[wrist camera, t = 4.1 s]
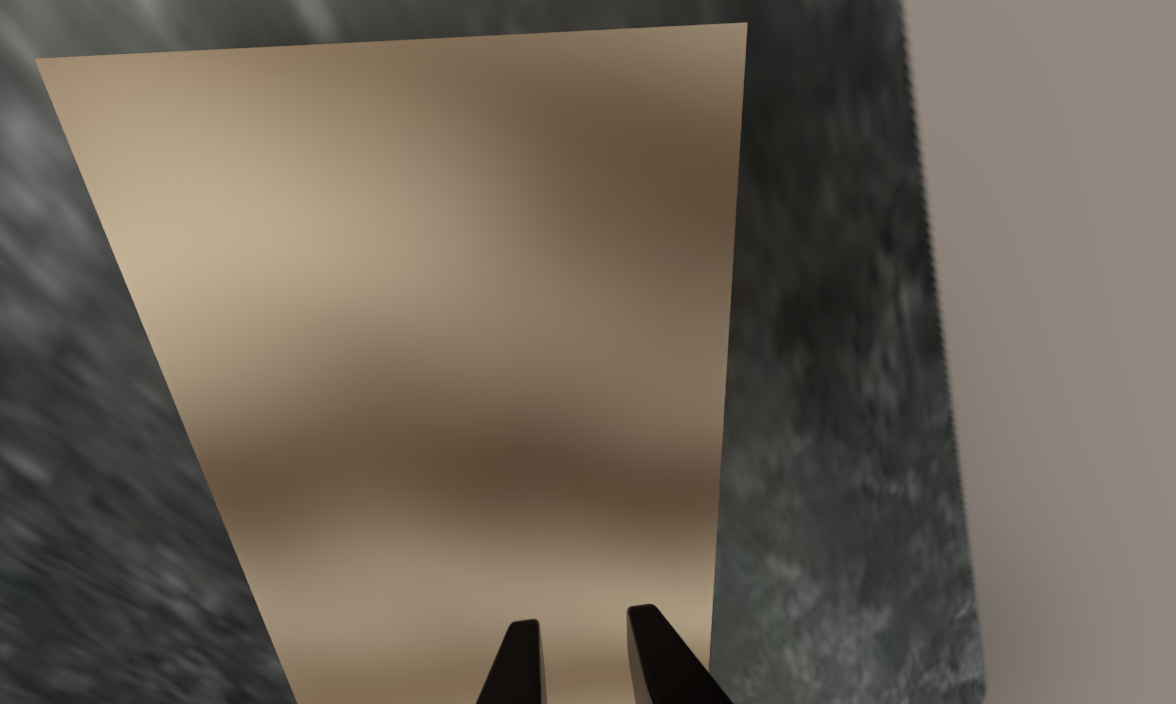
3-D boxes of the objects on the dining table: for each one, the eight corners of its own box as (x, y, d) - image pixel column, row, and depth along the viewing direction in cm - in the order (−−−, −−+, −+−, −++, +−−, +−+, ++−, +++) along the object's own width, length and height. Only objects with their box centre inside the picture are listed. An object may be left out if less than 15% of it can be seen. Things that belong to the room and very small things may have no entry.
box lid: (698, 684, 16) (706, 712, 16) (329, 726, 16) (319, 758, 15) (731, 25, 9) (747, 23, 9) (74, 59, 9) (33, 58, 8)
